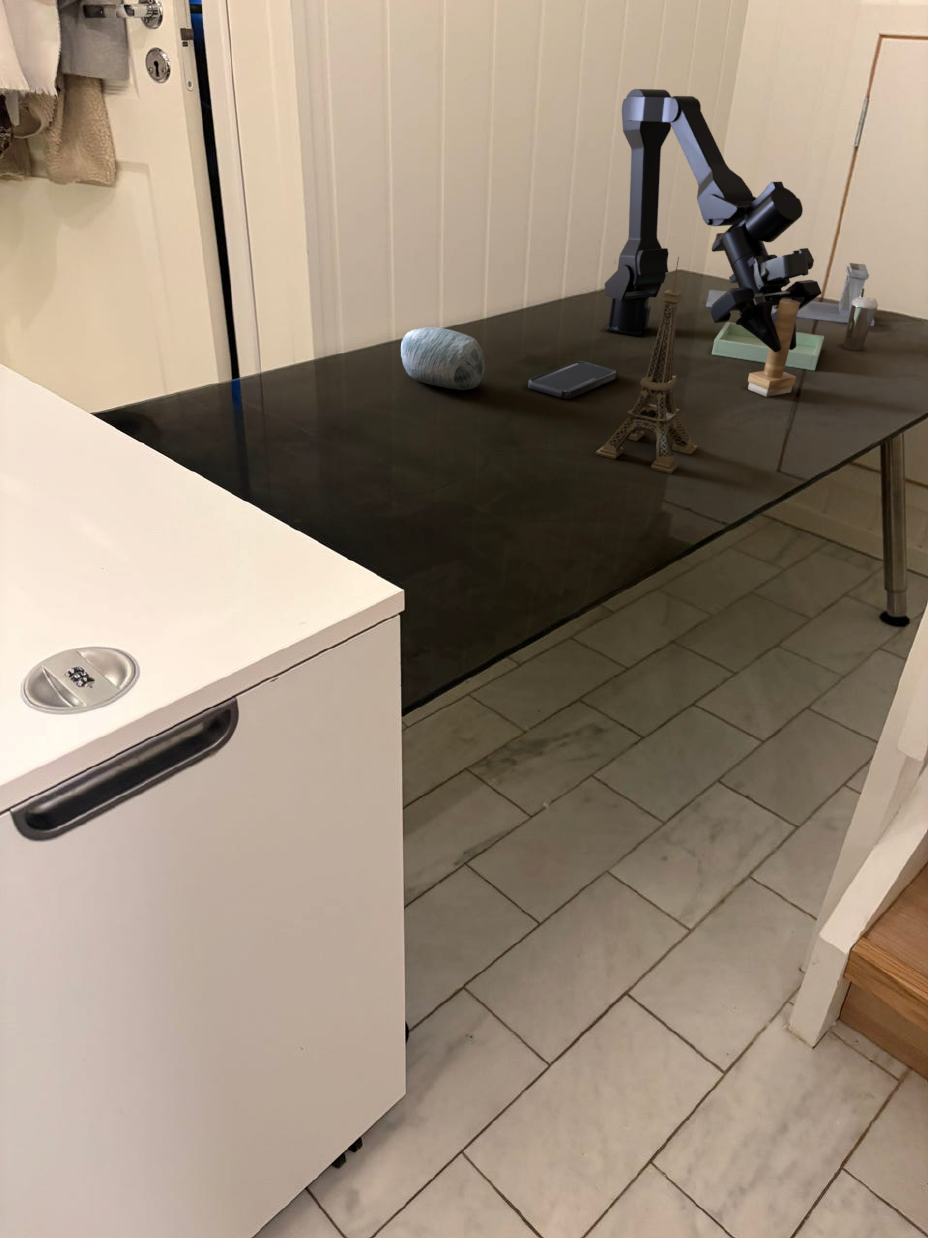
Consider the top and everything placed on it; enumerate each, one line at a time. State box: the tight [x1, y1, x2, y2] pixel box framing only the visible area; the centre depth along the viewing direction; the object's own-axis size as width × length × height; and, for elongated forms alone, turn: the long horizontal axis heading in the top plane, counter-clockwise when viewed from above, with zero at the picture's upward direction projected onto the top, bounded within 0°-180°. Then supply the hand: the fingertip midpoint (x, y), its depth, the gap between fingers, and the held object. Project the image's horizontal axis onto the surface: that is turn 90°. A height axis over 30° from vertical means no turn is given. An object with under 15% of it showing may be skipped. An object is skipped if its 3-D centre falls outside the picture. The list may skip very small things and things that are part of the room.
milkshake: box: [843, 287, 879, 352], centre depth 173 cm, size 4×5×10 cm
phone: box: [527, 360, 617, 400], centre depth 150 cm, size 8×1×15 cm
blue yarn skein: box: [400, 326, 486, 391], centre depth 145 cm, size 14×10×10 cm
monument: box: [705, 262, 875, 327], centre depth 195 cm, size 12×33×10 cm, turn 75°
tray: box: [711, 321, 825, 371], centre depth 169 cm, size 18×14×3 cm
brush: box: [747, 299, 800, 398], centre depth 148 cm, size 6×4×14 cm
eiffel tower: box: [594, 256, 699, 474], centre depth 121 cm, size 11×11×25 cm
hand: (785, 349), depth 147 cm, fingers closed on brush, 3 cm apart
